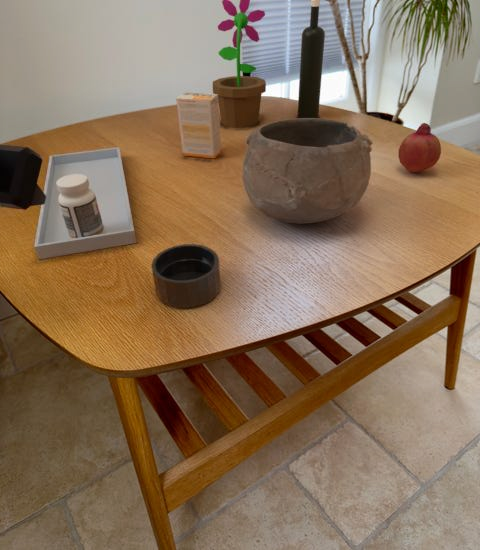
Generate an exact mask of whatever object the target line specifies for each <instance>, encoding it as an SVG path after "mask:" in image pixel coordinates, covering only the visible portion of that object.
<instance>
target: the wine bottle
mask: <svg viewBox="0 0 480 550" xmlns="http://www.w3.org/2000/svg"><path fill="white" fill-rule="evenodd" d="M320 7H321V0H310V21H309V26H307V27H305V28H304V29H303V30H302V33H301V42H300V43H301V45H300V60H299V61H300V64H299V82H298V102H297V119H299V118H319V112H320V99H321V88H322V76H323V75H322V74H323V63H324V50H325V40H326V39H325V37H326V31H325V30H324V29H323V28H322V26H319V17H320V15H319V14H320Z"/></svg>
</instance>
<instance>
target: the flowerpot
mask: <svg viewBox="0 0 480 550" xmlns="http://www.w3.org/2000/svg"><path fill="white" fill-rule="evenodd" d="M250 2H251V0H239V3H238V4H239V5H238V8H239V11H240V12H238V10H237V6H236V5H234V3H233V2H232V1H231V0H222V1H221V3H222V8H223V9H224V11H225V12H226V14H228V15H229V16H232V17H234V18H233V19H231V18H229V19H225V20H222V21H220V23H219V24H218V25H217V29H218V31H221V32H227V31H231V30H232V29H233V28H234V27H236V29H235V30H234V32H233V35H232V45H233V47H232V46H231V45H230V46H224V47H222V48H221V49H220V50H219V51H218V55H219V56H220V57H221V58H222V59H223V60H226V61H229V62H230V61H233V60H235V59H236V75H233V76H226V77H219V78H217V79H215V80H213V81H212V94H218V105H219V115H220V119H221V124H222V125H223V126H226V127H229V128H234V129H235V128H236V129H237V128H248V127H253V126H255V125H257V124H258V123H259V118H260V111H261V103H262V94H264V93H266V91H267V82H266V79H264V78H261V77H258V76H248V75H241V72H243V73H244V74H250V73H252V72H254V71H256V70H257V67H256V66H254V65H251V64H249V63H245V62H244V63H241V44H242V41H243V36H244V35H243V31H242V29H244V32H245V35H246V36H247V37H248V38H249V39H250V40H251V41H253V42H255V43H258V42H259V41H260V36H259V32H258V31H257V30H256V29H255V28H254V26H252V25H249V22H251V23H256V22H259V21H261V20H262V19H263V18H264V17H265V16H266V12H265V11H264V10H261V9H256V10H253V11H250V12H249V14H248V15H247V14H246V12H247V11H248V10H249V8H250Z"/></svg>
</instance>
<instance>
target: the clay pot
mask: <svg viewBox="0 0 480 550" xmlns="http://www.w3.org/2000/svg"><path fill="white" fill-rule="evenodd" d="M373 143H374V142H373V141H372V140H371V139H370V138H369V137H368V135H366V134H364V133H363V134H362V132H361V131H359V130H358V129H357V127H356V126H355V125H350V124H349V123H348V122H345V121H342V120H336V119H329V118H320V117H318V118H287V119H286V118H285V119H280V120H275V121H271V122H267V123H265V124H263V125H260V126H259V127H258V129H253V130H252V131H251V132H250V134H249V135H248V137H247V138H246V144H247V149H246V152H245V155H244V159H243V163H242V175H241V176H242V182H243V187H244V189H245V193H246V195H247V197H248V199H249V201H250V202H251V204H253V206H254V207H255V208H257V209H258V210H259V211H260V212H262V213H263V214H265V215H266V216H267V217H270V218H273V219H275V220H278V221H281V222H286V223H289V224H291V223H292V224H300V225H301V224H315V223H321V222H326V221H328V220H332V219H334V218H336V217H339V216H342V215H344V214H345V213H347V212H348V211H350V210H351V209H352V208H354V207H355V206H356V205H357V204H358V203H359V202H360V201H361V199H362V197H363V196H364V194H365V193H366V191H367V188H368V186H369V183H370V179H371V174H372V164H371V161H372V159H371V152H372V150H373V148H372V145H373Z"/></svg>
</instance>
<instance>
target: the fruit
mask: <svg viewBox="0 0 480 550" xmlns="http://www.w3.org/2000/svg"><path fill="white" fill-rule="evenodd" d="M431 131H432V130H431V126H430V125H429V124H428V123H426V122H423V123H421V124H420V125H419V127H417V129H416V131H415V132H412V133H409V134H408V135H407V136H406V137H405V138H404V139H403V140H402V141H401V144H400V145H399V148H398V153H397V154H398V156H397V157H398V160H399V163H400V164H401V166H402V167H404V169H406V170H407V171H409V172H411V173H418V172H422V171H426V170H428V169H430V168H432V167H434V166H435V165H436V164H437V163H438V161H439V160H440V159H441V155H442V146H441V145H442V144H441V142H440V140H439V138H438V136H437V135H435V134H433V133H432V132H431Z"/></svg>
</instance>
